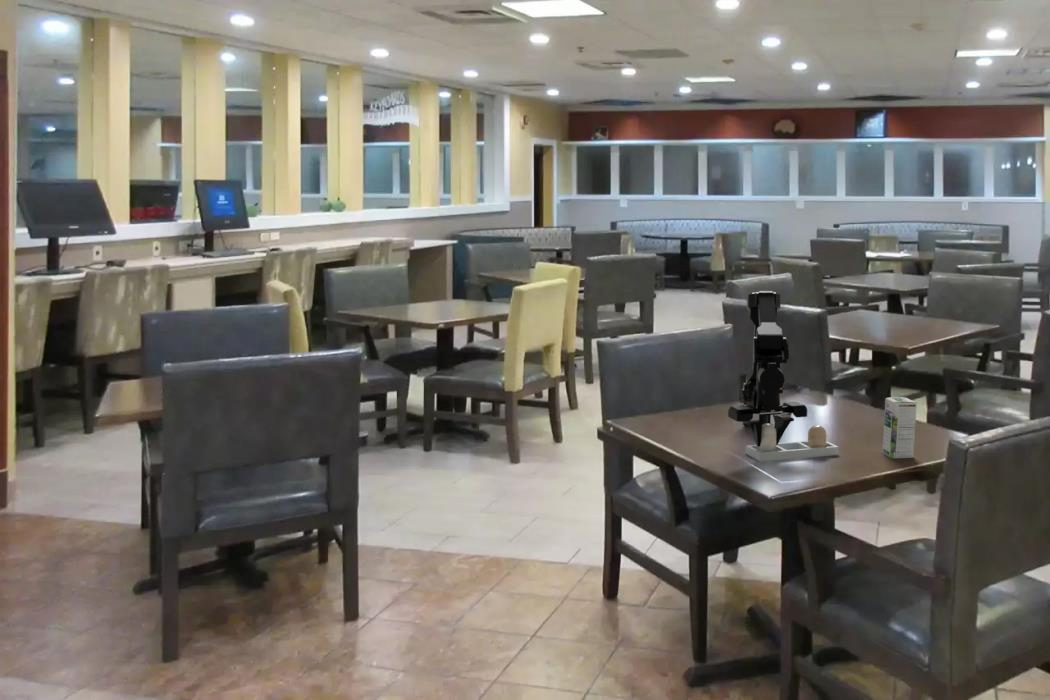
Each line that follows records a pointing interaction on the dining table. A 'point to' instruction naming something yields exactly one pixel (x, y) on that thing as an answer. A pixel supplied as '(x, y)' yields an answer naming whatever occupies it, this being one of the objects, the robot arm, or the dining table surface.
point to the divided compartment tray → (792, 451)
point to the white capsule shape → (768, 438)
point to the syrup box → (899, 427)
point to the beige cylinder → (817, 437)
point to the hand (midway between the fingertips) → (766, 445)
